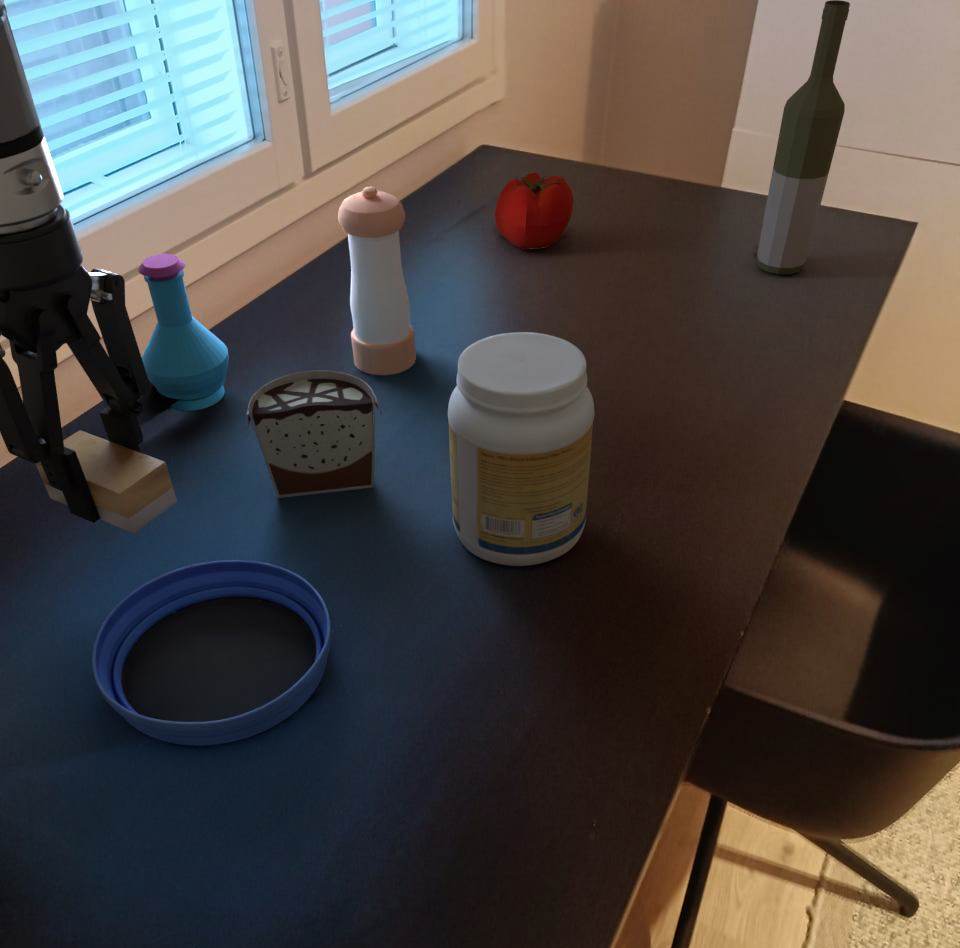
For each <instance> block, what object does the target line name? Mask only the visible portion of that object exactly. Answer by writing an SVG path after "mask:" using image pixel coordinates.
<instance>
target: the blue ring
mask: <svg viewBox="0 0 960 948" xmlns="http://www.w3.org/2000/svg"><path fill="white" fill-rule="evenodd" d="M332 628H333V627H332V621H331V618H330V614H329V611H328V607H327V605H326V603H325V602H324V599H323V598H322V596H321V594H320V593H319V592H318V591H317V589H316V588H315V587H314V586H313V585H312V584H311V583H310V582H309V581H308V580H306V579H305V578H304V577H302V576H300V575H299V574H298V573H295V572H293V571H291V570H289V569H287V568H284V567H281V566H279V565H275V564H272V563H267V562H261V561H255V560H246V559H245V560H243V559H225V560H213V561H207V562H201V563H196V564H192V565H187V566H183V567H180V568H177V569H174V570H172V571H169V572H166V573H164V574H161V575H159V576H157V577H155V578H153V579H150V580H149V581H147V582H146V583H144V584H142V585H140V586H139V587H138V588H135V590H133V591H131V593H129V594H128V595H126V596H125V597H124V598H123V599H122V600H121V601H120V602H119V603H117V605H116V606H115V607H113V608H112V610H111V611H110V612H109V614H108V615H107V616H106V618H105V619H104V621H103V623H102V625H100V627H99V630H98V633H97V634H96V637H95V640H94V642H93V643H94V644H93V649H92V659H91V662H92V672H93V676H94V679H95V683H96V685H97V687H98V690H99V692H100V694H101V695H102V697H103V699H104V700H105V701H106V702H107V704H108V705H109V706H110V707H111V708H112V709H114V711H115V712H116V713H117V714H119V715H120V716H121V717H123V718H124V720H125V721H126V722H128V724H130V725H131V726H132V727H133V728H135V729H136V730H138V731H139V732H141V733H142V734H145V735H147V736H148V737H151V738H154V739H156V740H159V741H163V742H167V743H169V744H170V743H171V744H176V745H183V746H199V747H201V746H216V745H224V744H228V743H233V742H237V741H241V740H245V739H247V738H250V737H253V736H256V735H258V734H261V733H262V732H265V731H267V730H270V729H271V728H273V727H276V726H277V725H278V724H280V723H282V722H284V721H285V720H286V719H287V718H289V717H290V716H292V715H293V714H295V712H297V711H298V710H299V709H300V708H301V707H303V706H304V704H305V703H306V702H308V700H309V699H310V698H311V696H313V694H314V692H315V691H316V689H317V688H318V686H319V684H320V683H321V681H322V679H323V676H324V674H325V671H326V667H327V663H328V657H329V653H330V649H331V645H332V637H333V636H332V635H333V629H332Z"/></svg>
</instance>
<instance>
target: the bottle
mask: <svg viewBox="0 0 960 948" xmlns="http://www.w3.org/2000/svg"><path fill="white" fill-rule="evenodd" d="M850 7H851V3H850V2H849V1H845V0H827V1H825V2H824V6H823V8H822V14H821V23H820V27H819V33H818V37H817V40H816V46H815V52H814V57H813V61H812V66H811V70H810V74H809V77H808V79H807V80H806V81H805V83H803V84H802V85H801V86H800V87H799V88H798V89H797V90H796V91H795V92H794V93H792V95H791V96H790V97H789V98H788V99H787V100H786V102H785V104H784V107H783V111H782V118H781V122H780V128H779V133H778V139H777V143H776V144H777V145H776V150H775V155H774V161H773V165H772V171H771V178H770V183H769V188H768V194H767V199H766V205H765V210H764V215H763V221H762V226H761V232H760V237H759V243H758V248H757V252H756V264H757V267H758V268H760V269H761V270H763V271H765V272H767V273H770V274H774V273H775V274H774V275H793V274H796V273H799V272H801V271H802V269H803V268H804V267H805V265H806V263H807V260H808V255H809V252H810V248H811V245H812V244H811V243H812V239H813V236H814V231H815V228H816V224H817V220H818V217H819V212H820V209H821V205H822V202H823V197H824V193H825V189H826V185H827V182H828V178H829V175H830V170H831V165H832V162H833V159H834V155H835V150H836V147H837V142H838V138H839V134H840V132H841V127H842V123H843V119H844V115H845V108H846V107H845V102H844V100H843V98H842V96H841V94H840V92H839V91H838V89H837V87H836V84H835V82H834V75H835V70H836V66H837V61H838V57H839V52H840V48H841V45H842V40H843V35H844V30H845V26H846V22H847V20H848V16H849V12H850Z"/></svg>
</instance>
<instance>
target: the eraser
mask: <svg viewBox="0 0 960 948" xmlns="http://www.w3.org/2000/svg"><path fill="white" fill-rule="evenodd" d="M63 442H64V447H66V448H69V449H71V450H74V451H75V452H76V454H77V457H78V459H79V462H80V465H81V467H82V470H83V473H84V475H85V478H86V481H87V484H88V486H89V489H90V492H91V494H92V497H93V500H94V502H95V505H96V507H97V510H98V513H99V515H100V519H99V520H100V521H102V522H105V523H107V524H110V525H113V526H115V527H116V528H120V529H122V530H124V531H127V532H129V533H131V534H136V533H137V532H139V531H140V530H141V529H142V528H144V527H145V526H147V525H148V524H150V523H151V522H152V521H154V520H155V519H156V518H158V517H159V516H160V515H161V514H163V513H164V512H166V511H167V510H169V509H170V508H171V507H172V506H174V505H175V504H176V503H177V502H178V500H177V496H176V493H175V490H174V487H173V483H172V480H171V477H170V473H169V470H168V467H167V464H166V461H164V460H160V459H158V458H156V457H152V456H150V455H147V454H144V453H142V452H141V453H139V452H137V451H134V450H131V449H129V448H126V447H123V446H121V445H118V444H115V443H113V442H110V441H109V440H108V439H104V438H103V437H99V436H97V435H93V434H91V433H88V432H86V431H83V430H81V429H80V430H78V431H76V432H74V433H73V434H71V435H70V436H67V437H66V438H65V439H63ZM34 464H35V467H36V469H37V471H38V473H39V475H40V478H41V480H42V483H43V484H44V487H45V489H46V492H47V495H48V497H49V498H50V499H51V500H53V501H56V502H58V503H61V504H62V505H65V506H67V507H68V504H67V502H66V499H65V497H64V495H63V492H62V491H60V490H57V489H55V488H53V487H52V486H51V485H50V484H49V482H48V479H47V477H46V474H45V472H44V469H43V467H42V465H41V462H39V463H34Z"/></svg>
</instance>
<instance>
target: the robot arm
mask: <svg viewBox="0 0 960 948" xmlns="http://www.w3.org/2000/svg"><path fill="white" fill-rule="evenodd" d="M7 13H8V10H7V3H6V1H5V0H0V337H1V336H2V337H4V339H7V340H8V342H9V347H10V355H11V358H12V360H13V362H14V363H15V364H16V366H17V372H18V379H19V384H20V385H19V386H20V391H21V393H20V391H19V388H18V386H17V383H16V381H15V379H14V376H13V374H12V373H13V372H11V371H12V370H11V369H10V367H9V365H8V364H7V362H6V360H5V359H4V358H5V356H6V353H7V352H6V350H5V349H3V346H2V344H1V343H0V435H1V438H2V440H3V442H4V444H5V447H6V450H7V452H8V453H9V454H10V455H13V456H15V457H17V458H19V459H22V460H25V461H27V462H30V463H31V464H35V463H39V462H41V465H42V467H43V469H44V472H45V474H46V477H47V479H48V482H49V484H50V485H51V486H52V487H53V488H55V489H57V490H60V491H62V492H63V495H64V497H65V499H66V502H67V504H68V506H67V507H68V509H69V511H70V513H71V514H72V515H74V516H77V517H79V518H82V519H83V520H86V521H89V522H90V523H92V524H95V523H96V522H97V521H99V520H100V515H99V513H98V510H97V507H96V505H95V502H94V500H93V497H92V494H91V492H90V489H89V486H88V484H87V481H86V478H85V475H84V473H83V470H82V467H81V465H80V462H79V459H78V457H77V454H76V452H75V451H74V450H71V449H69V448H66V447H64V442H63V440H64V435H63V429H62V421H61V420H62V419H61V414H60V405H59V398H58V397H59V396H58V390H57V383H56V376H55V370H56V369H57V368H58V367H59V366H58V357H57V351H58V350H60V348H61V347H62V346H64V345H65V344H66V345H67V346H68V348H69V350H70V351H71V353H72V355H73V356H74V357H75V359H76V360H77V362H78V363H79V365H80V367H81V369H82V370H83V371H84V373H85V374H86V376H87V377H88V379H89V381H90V382H91V384H92V386H93V387H94V388H95V390H96V391H97V393H98V394H99V395H100V398H101V400H103V402H104V404H105V405H106V406H109V408H108V407H106V408H104V409H103V410H101V411H99V412H98V413H99V416H100V419H101V421H102V424H103V427H104V430H105V433H106V436H107V440H108V441H110V442H113V443H115V444H118V445H121V446H123V447H126V448H129V449H131V450H134V451H137V452H139V453H142V451H141V447H140V444H142V443H143V442H144V435H143V431H142V428H141V425H140V422H139V418H138V416H140V415H141V414H142V413H143V412H144V411H143V410H144V404H143V403H142V402H140V401H138V400H139V399H140V398H141V397H146V396H148V395H149V394H150V392H151V382H150V380H149V379H148V377H147V374H146V370H145V367H144V364H143V361H142V355H141V351H140V348H139V345H138V342H137V339H136V338H137V337H136V335H135V332H134V328H133V325H132V321H131V319H130V316H129V311H128V309H127V306H126V282H125V278H124V276H122V274H119V273H115V272H111V271H108V270H105V269H101V268H97V267H95V268H92V269H91V271H90V272H89V271H88V270H87V269H86V268H85V267H84V266H83V260H84V254H83V252H82V249H81V245H80V242H79V239H78V236H77V232H76V230H75V226H74V223H73V220H72V217H71V214H70V211H69V210H68V209H67V208H65V207H64V206H63V205H62V202H63V199H64V197H65V196H64V193H63V190H62V187H61V184H60V180H59V177H58V174H57V171H56V168H55V164H54V162H53V158H52V156H51V152H50V149H49V146H48V143H47V139H46V137H45V135H44V131H43V129H42V125H41V122H40V119H39V115H38V111H37V109H36V105H35V102H34V99H33V95H32V92H31V89H30V86H29V83H28V79H27V76H26V72H25V69H24V65H23V62H22V59H21V56H20V53H19V50H18V46H17V43H16V40H15V37H14V33H13V30H12V27H11V26H12V25H11V24H10V20H9V17H8V14H7ZM90 301H91V302H90ZM90 303H91V306H92V311H93V313H94V316H95V320H96V322H97V326H98V328H99V332H100V333H99V332H98V329H97V328H96V327H95V325H94V323H93V321H92V320H91V318H90V317H89V315H88V311H89V306H90ZM100 334H101V335H100ZM101 339H102V340H103V343H104V346H105V348H104V346H103V345H102V343H101Z"/></svg>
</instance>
